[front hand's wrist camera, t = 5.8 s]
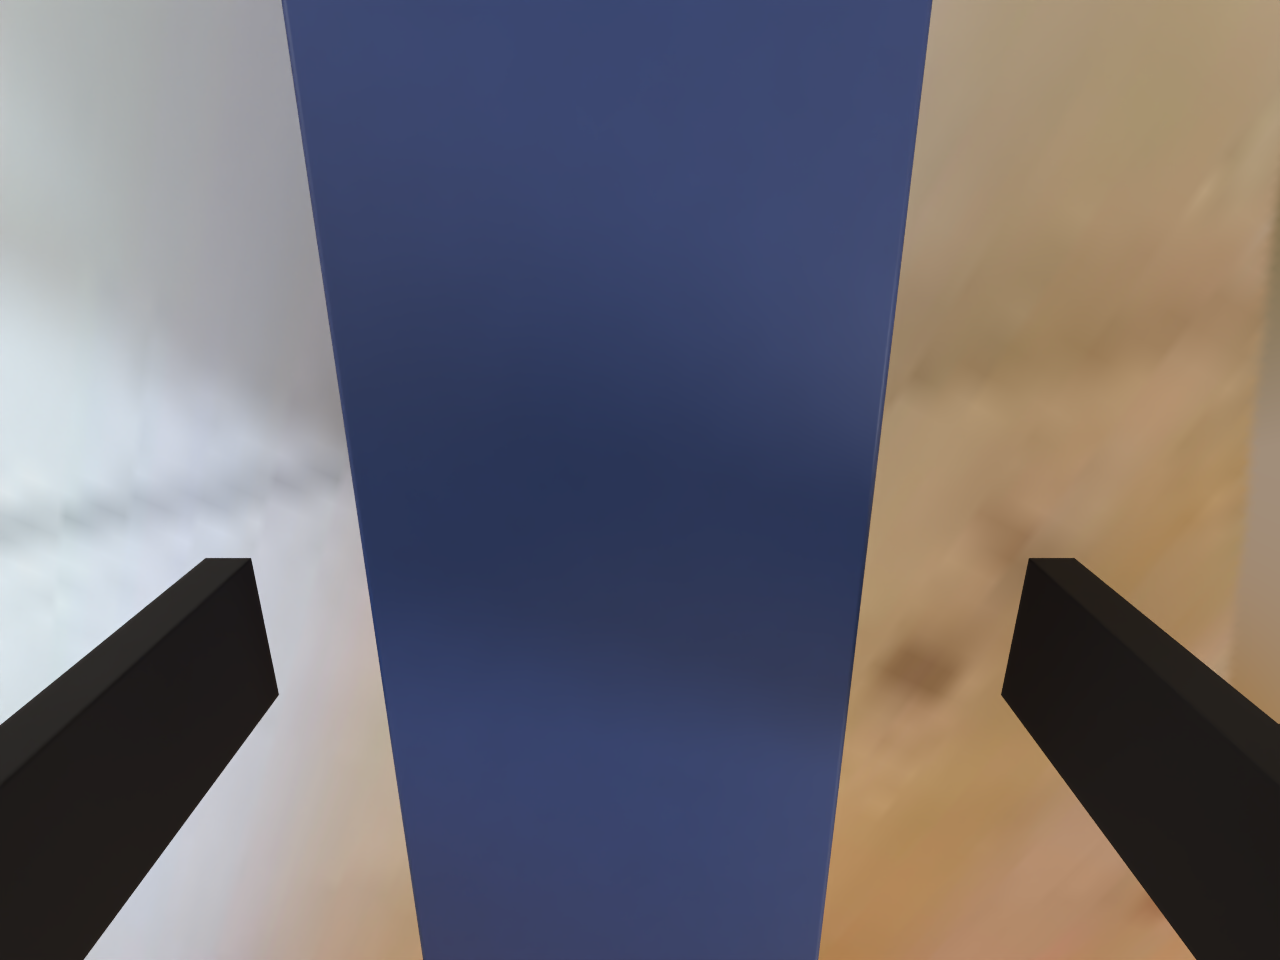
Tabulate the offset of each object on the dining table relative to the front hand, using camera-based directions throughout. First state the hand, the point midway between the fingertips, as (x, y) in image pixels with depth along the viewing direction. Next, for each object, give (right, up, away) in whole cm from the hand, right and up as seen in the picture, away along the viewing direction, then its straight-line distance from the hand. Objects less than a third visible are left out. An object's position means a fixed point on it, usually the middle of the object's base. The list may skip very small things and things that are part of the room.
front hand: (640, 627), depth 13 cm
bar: (0, +11, +2) cm, 11 cm away
